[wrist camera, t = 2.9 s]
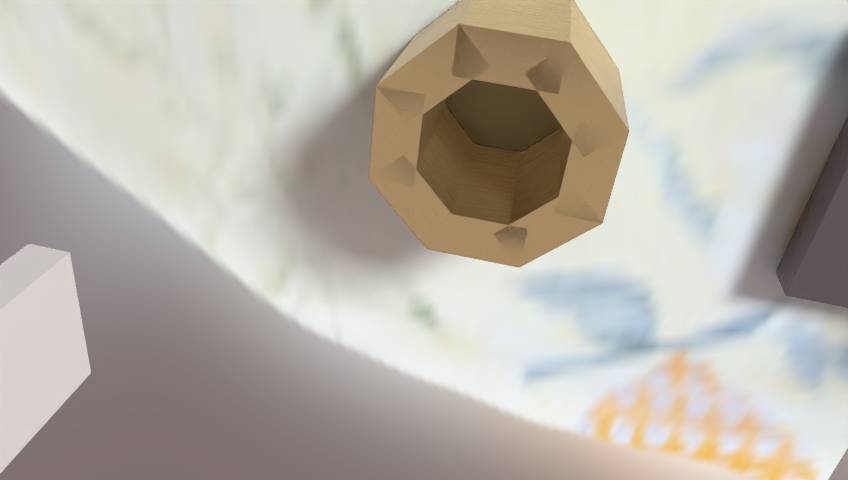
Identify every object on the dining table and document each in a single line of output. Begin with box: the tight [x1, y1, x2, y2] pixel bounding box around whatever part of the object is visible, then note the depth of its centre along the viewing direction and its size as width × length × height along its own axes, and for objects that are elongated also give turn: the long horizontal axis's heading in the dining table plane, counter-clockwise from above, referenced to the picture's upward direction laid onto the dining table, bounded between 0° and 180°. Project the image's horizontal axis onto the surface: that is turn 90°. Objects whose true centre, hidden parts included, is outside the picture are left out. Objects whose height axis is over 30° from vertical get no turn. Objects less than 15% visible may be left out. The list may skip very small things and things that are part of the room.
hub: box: [369, 0, 629, 267], centre depth 22 cm, size 7×7×6 cm
